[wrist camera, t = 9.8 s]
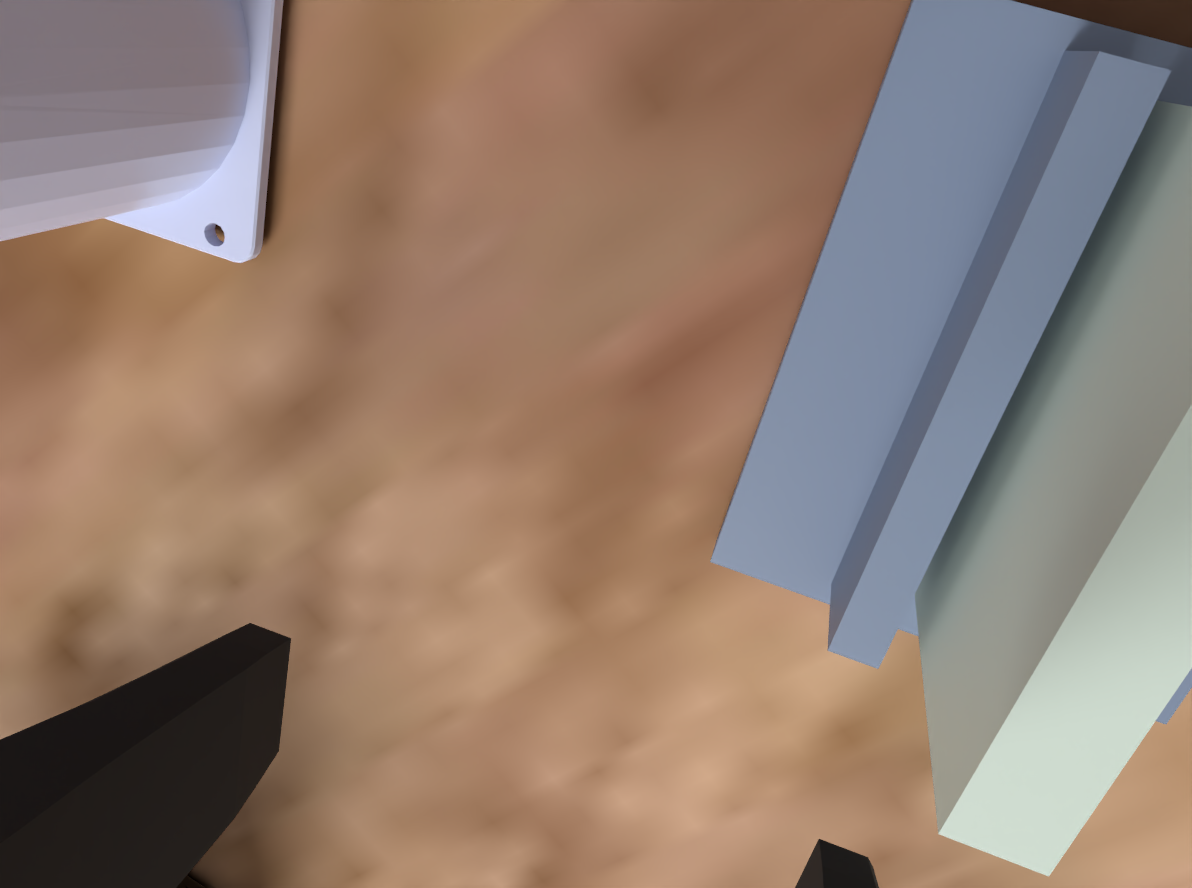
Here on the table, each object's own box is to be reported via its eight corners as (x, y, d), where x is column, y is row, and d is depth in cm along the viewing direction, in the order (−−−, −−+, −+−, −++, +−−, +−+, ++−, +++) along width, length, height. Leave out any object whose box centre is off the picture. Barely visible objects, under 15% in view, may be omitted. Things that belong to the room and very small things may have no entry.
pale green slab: (913, 585, 20) (938, 833, 13) (1151, 98, 15) (1348, 136, 9) (988, 611, 19) (1048, 876, 13) (1250, 126, 15) (1524, 182, 9)
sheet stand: (716, 540, 22) (692, 623, 18) (918, -20, 16) (932, -36, 13) (1152, 695, 20) (1205, 811, 17) (1524, 141, 15) (1697, 165, 12)
